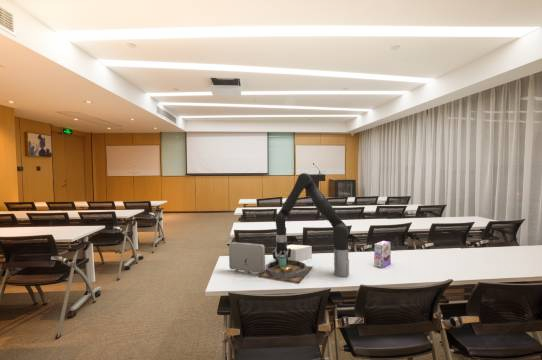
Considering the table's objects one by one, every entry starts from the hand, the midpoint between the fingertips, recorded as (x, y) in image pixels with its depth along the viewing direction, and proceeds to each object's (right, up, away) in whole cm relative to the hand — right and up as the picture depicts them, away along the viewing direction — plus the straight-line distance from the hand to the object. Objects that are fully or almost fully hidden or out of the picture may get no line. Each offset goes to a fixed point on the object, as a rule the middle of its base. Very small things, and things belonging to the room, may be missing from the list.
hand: (281, 264), depth 192 cm
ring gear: (+3, -2, -7) cm, 8 cm away
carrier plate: (+3, -4, -7) cm, 9 cm away
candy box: (+73, -2, +4) cm, 73 cm away
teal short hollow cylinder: (0, -1, 0) cm, 1 cm away
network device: (-24, -4, -6) cm, 25 cm away
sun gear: (+3, -2, -7) cm, 8 cm away
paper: (+10, -3, +20) cm, 23 cm away
